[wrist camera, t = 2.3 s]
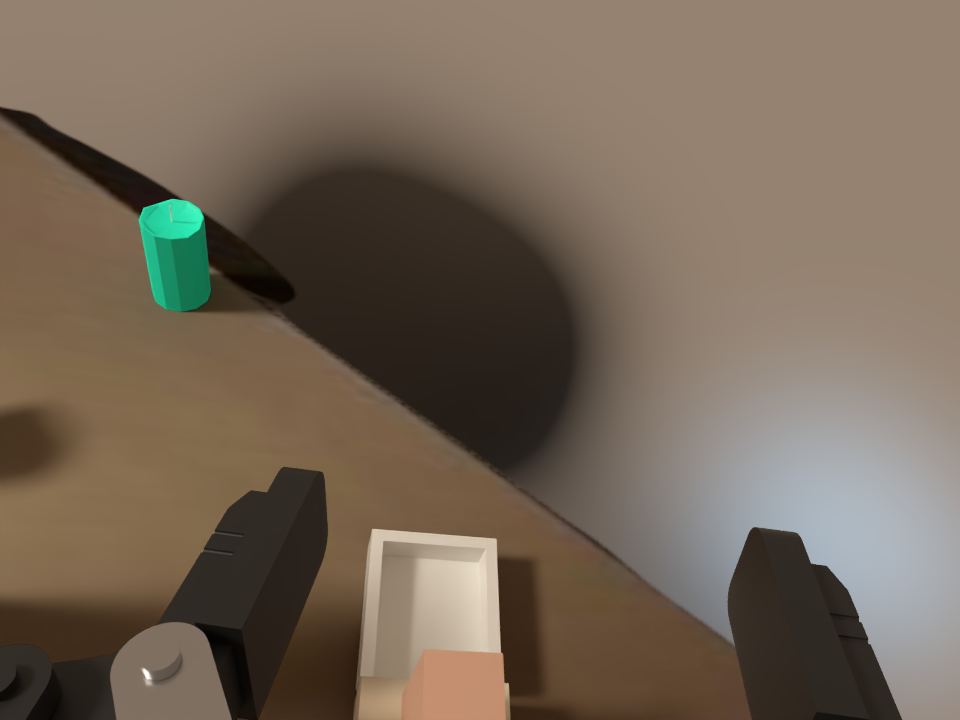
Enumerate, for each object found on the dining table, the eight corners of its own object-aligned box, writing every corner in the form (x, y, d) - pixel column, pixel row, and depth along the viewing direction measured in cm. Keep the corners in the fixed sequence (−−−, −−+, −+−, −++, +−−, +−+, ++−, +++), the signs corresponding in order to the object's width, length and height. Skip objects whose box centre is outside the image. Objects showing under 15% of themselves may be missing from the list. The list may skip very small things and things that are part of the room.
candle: (211, 272, 80) (202, 187, 71) (211, 311, 76) (202, 226, 67) (153, 272, 78) (137, 185, 69) (151, 312, 74) (134, 225, 65)
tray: (490, 696, 57) (501, 682, 54) (355, 690, 55) (360, 676, 52) (486, 557, 65) (496, 538, 62) (367, 548, 63) (372, 528, 60)
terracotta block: (470, 773, 48) (506, 741, 41) (398, 772, 47) (421, 739, 40) (469, 695, 51) (503, 653, 44) (402, 693, 50) (424, 649, 43)
